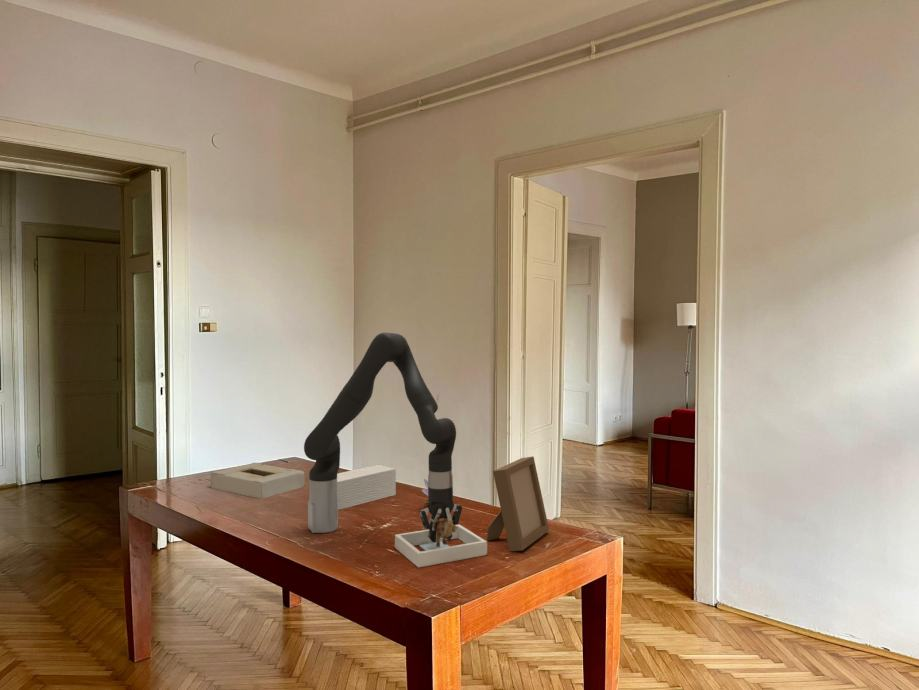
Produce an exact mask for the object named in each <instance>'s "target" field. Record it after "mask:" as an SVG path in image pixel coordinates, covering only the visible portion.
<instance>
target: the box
mask: <svg viewBox="0 0 919 690" xmlns="http://www.w3.org/2000/svg"><path fill="white" fill-rule="evenodd" d="M305 479H306V478H305V471H303V470H300V469H294V468H291V469H290V468H285V467H280V466H273V465H268V464H265V463H260V462H251V463H247V464H243V465H240V466H239V465H238V466H235V467H231V468H227V469H223V470H217V471H212V472H211V473H210V487H211V489H216V490H221V491H224V492H228V493H233V494H238V495H243V496H246V497H252V498H256V499H266V498H268V497H269V498H270V497H272V496H276V495H279V494H283V493H287V492H290V491H293V490H296V489H297V490H298V489H300V488H305Z"/></svg>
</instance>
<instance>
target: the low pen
mask: <svg viewBox="0 0 919 690" xmlns="http://www.w3.org/2000/svg"><path fill="white" fill-rule="evenodd" d="M455 526H457V530H456V531H455V532H452V538H451V540H455V539H459V540H460V541H461V542H462V543H463V544H457V545H451V546H450V545H448V543H447V544H446V545H444V544H443V543H442V541H443V538H441V537H440V547H437V546H436V544H437V537H436V542H435V543H433V542H432V541H431V540H430V538H429V537H428V534H429V530H428V529H424V530H416V531H412V532H411V531H410V532H403V533H398V534H394V548H395V549H396V550H397V551H398V552H400V553H401V555H403V556H404V557H406V559H407V560H409V561H410V562H411V563H413V564H414V565H415V566H416V567H417V568H422V567H423V568H425V567H429V566H434V565H439V564H444V563H445V564H446V563H450V562H457V561H460V560H467V559H470V558H472V559H473V558H477V557H483V556H487V555H488V540H485V539H484V538H482V537H481V536H479V535H477V534H475V533H474V532H472V531H471V530H469V529H468V528H466V527H465V526H463V525H461V524H458V525H455ZM445 541H448V540H447V539H446V540H445ZM415 546H419V548H420V549H422V550H423V551H421V550H419V549H418V548H417V547H415Z"/></svg>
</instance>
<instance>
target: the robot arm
mask: <svg viewBox="0 0 919 690" xmlns="http://www.w3.org/2000/svg"><path fill="white" fill-rule="evenodd" d="M387 363H393V364H394V366H395V367H396V368H397V369H398V370H399V372H400V374H401V376H402V380H403V384H404V391H405V395H406V398H407V400H408V402H409V403H410V405H411V407H412V409H413V410H414V412H415V414H416V416H417V420H418V424H419V427H420V431H421V434H422V436H423V437H424V439H425V441H427V442H428V443H429V444H432V445H435V447H434V449H432V450H431V451H430V452H429V454H428V475H427V481H428V489H427V490H428V496H427V500H428V502H427V507H426V508H424V509H419V510H418V513H419V516H420V520H421V524H422V525H423V528H424V529H425V530H430V540H431V541H432V542H433V543H435V542H436V526H437V523H438V521H439V519H440V520H441V519H443V520H447V519H448V520H452V523H453V524H454V525H459V523H460V518H461V513H462V509H463V506H462V505H460V504H458V503H456V504H455V503H454V501H453V499H454V482H453V481H454V480H453V477H454V476H453V462H452V461H453V460H452V459H453V458H452V457H453V452H454V450H455V449H454V448H455V442H456V438H457V428H456V425H455V423H454V422H453V420H451V418H446V417H443V418H438V419H437V418H436V417H437V416H436V414H435V413H436V412H437V411H438V409H439V405H438V403H437V401H436V400H435V397H434V396H433V394H432V393H431V391H430V389H429V388H428V386H427V385H426V382H425V381H424V379H423V377H422V375H421V372H420V370H419V367H418V365H417V363H416V360H415V358H414V355H413V352H412V350H411V347H410V345H409V343H408V341H407V338H405V337H404V336H403V335H401V334H400V333H393V332H381V333H378V334H377V335H376V336H374V338H373V340H371V342H370V343H369V345H368V348H367V350H366V351H365V354H364V356H363V358H362V359H361V361H360V363H359V364H358V366H357V367H356V369H355V370H354V372H353V373H352V374H351V376H350V378H349V379H348V381H347V382H346V383H345V385H344V386H343V388H342V389H341V390H340V392H339V393H338V395H337V396H336V398H335V400H334V401H333V403H332V404H331V405H330V407H329V408H328V410H327V412H326V413H325V414H324V416H323V418H322V419H321V420H320V422H319V423H318V424H317V425H316V426H315V427H314V429H313V430H312V431H310V433H309V434H308V436H307V437H306V438H305V441H304V444H303V451H304V454H305V456H306V457H307V459H308V460H309V459H310V460H312V461H315V463H314V464H313V466H312V467H311V468H310V470H309V472H308V473H309V474H308V479H309V480H308V481H309V482H308V483H309V485H308V486H309V487H308V489H309V490H308V491H309V493H308V494H309V499H308V500H307V528H308V530H309V531H310V532H311V533H312V534H315V533H317V534H318V533H319V534H320V533H321V534H322V533H323V534H324V533H325V534H326V533H332V532H335V531H337V530H338V526H339V521H338V517H339V516H338V511H339V510H338V506H337V474H338V472H339V470H340V463H341V460H340V459H341V442H340V439H339V438H340V437H339V436H338V434H339V433H340V432H341V431H342V430H343V429H344V428H346V427H347V425H349V424H350V423H351V422H352V421H354V420H355V419H356V418H358V416H359V415H360V414H361V412H362V411H363V410H364V409H365V407H366V406H367V404H369V403H368V402H369V401H370V400H371V398H372V396H373V391H374V384H375V380H376V379H377V378H376V377H377V375H378V374H379V373H380V372H381V370H382V369H383V368H384V367H385V365H386V364H387ZM452 511H453V514H452V515H451V512H452ZM429 513H430V518H428V516H429ZM429 522H430V524H429ZM451 538H452V535H451V536H448V538H446V539H447V540H446V541H451V540H452V539H451Z"/></svg>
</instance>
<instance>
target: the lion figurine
mask: <svg viewBox="0 0 919 690" xmlns="http://www.w3.org/2000/svg"><path fill="white" fill-rule="evenodd" d="M429 524H430V521H429ZM456 530H457V526H455V525H454V524H453V523H452V520H448V519H447V520H445V519H443V520H441V519H439V521H438V523H437V526H436V537H437V544H436V546H437V547H440V542H441V541H440V537H441V538H443V541H442V543H443V544H444V545H446V544H447V545H448V542H447V540H446V538H448V536H451V535H452V532H455V531H456ZM428 537H429V538H430V530H429V534H428Z"/></svg>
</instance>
